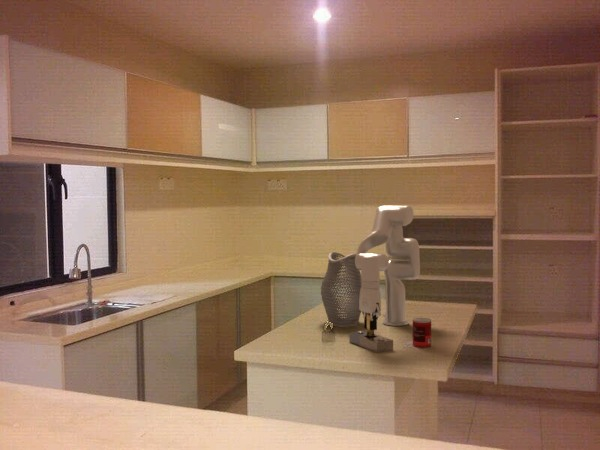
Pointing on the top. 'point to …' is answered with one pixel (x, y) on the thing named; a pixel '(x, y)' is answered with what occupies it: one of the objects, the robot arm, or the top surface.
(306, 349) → the top surface
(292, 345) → the top surface
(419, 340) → the canned food
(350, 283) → the vase
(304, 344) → the top surface
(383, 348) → the bolted slotted plate
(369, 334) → the pin
